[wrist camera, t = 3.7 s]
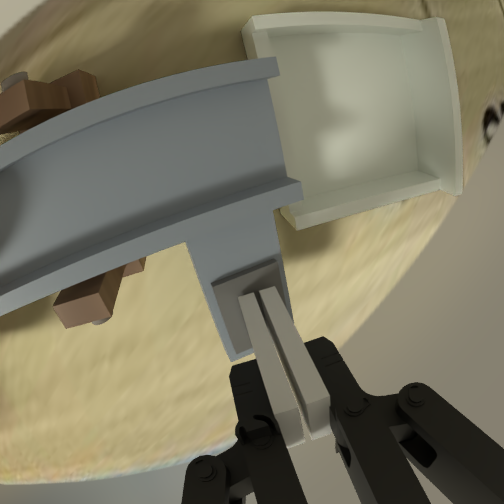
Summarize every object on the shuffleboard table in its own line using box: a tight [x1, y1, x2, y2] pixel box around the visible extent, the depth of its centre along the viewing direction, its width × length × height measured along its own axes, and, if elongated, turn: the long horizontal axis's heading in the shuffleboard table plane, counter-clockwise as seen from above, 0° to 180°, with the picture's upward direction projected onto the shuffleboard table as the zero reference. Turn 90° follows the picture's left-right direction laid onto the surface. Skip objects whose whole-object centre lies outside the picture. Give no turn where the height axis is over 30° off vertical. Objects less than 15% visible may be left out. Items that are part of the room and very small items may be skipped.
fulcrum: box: [0, 69, 146, 329], centre depth 12 cm, size 12×11×8 cm
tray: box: [241, 12, 463, 231], centre depth 15 cm, size 12×12×4 cm
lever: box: [0, 56, 304, 362], centre depth 11 cm, size 20×14×3 cm
